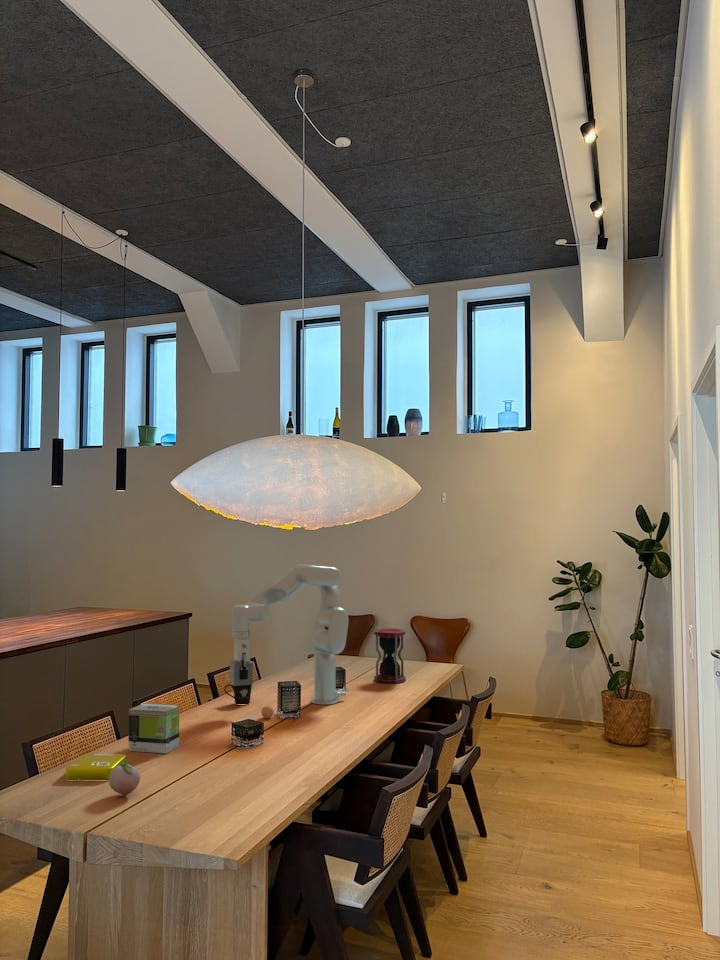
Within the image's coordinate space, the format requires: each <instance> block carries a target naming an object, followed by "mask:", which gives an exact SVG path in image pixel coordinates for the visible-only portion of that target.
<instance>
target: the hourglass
mask: <svg viewBox="0 0 720 960" xmlns="http://www.w3.org/2000/svg"><path fill="white" fill-rule="evenodd" d="M373 635H375V651H376V653H377V655H378V658H377V660H376V662H375V676H373V681H374V682H376V683H378V684H388V685H389V684H390V685H391V684H401V682H402V683H404V681H405V682H406V681H407V679H406V678H407V677H406V676H405V674H404V660H403V658H402V655H401V654H402V650H403V649H404V636H405V635H406V630H405V629H403V628H377V629H374V630H373ZM379 647H380V648H381V650H382V652H383V655H382V653H381V651H380V650H379ZM399 647H400V649H399ZM398 649H399V650H398ZM397 656H398V659H399V660H400V663H399V662H398V661H397ZM381 659H382V661H381ZM380 661H381V662H380Z"/></svg>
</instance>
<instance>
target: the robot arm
mask: <svg viewBox="0 0 720 960" xmlns="http://www.w3.org/2000/svg"><path fill="white" fill-rule="evenodd" d="M341 580H342V574H341V572H340V570H339V569H338V568H336V567H334V566H326V565H325V566H323V565H313V564H304V563H299V564H297V565H295V566H293V567H292V568H291V569H290V570H289V571H287V573H286V574H284V575H283V576H282V577H281V578H280V579H278V581H276V582H275V583H274V584H272V585H270V586H268V587H267V588H265V589H263V590H262V591H259V592H258V593H256V594H255V595H254V596H253V597H252V598H251V599H249V601H247V602H246V604H236V605H233V607H232V609H231V639H232V640H233V661H236V662H238V663H239V664H240V669H241V670H240V680H244V679H248V667H247V662H248V663H249V662H250V661H251V653H250V652H251V650H250V640H249V639H251V622H256V623H262V622H265V621H267V620H268V618H270V614H271V610H270V608H269V606H271V605H273V604H275V603H278V602H281V601H285V600H287V599H288V598H290V597H292V596H293V594H295V592H297V591H298V590H299V589H301V587H303V585H311V586H317V587H318V588H319V591H320V603H319V609H318V618H317V619H318V623H319V624H320V626H323V627H326V628H328V629H319V630H317V631H316V632H315V633H314V634H313V637H312V640H311V641H312V643H311V644H312V649H313V651H312V652H313V658H314V660H313V661H314V662H313V663H314V665H313V666H314V667H313V672H314V676H313V677H314V680H313V682H314V683H313V684H314V685H313V687H314V688H313V690H314V691H313V692H314V693H313V697H311V698H310V703H312V704H315V705H322V706H323V705H325V706H326V705H334V704H338V703H339V702H340V697H346V696H347V691H341V690H339V691H338V690H336V687H337V685H336V684H337V682H336V669H337V668H336V664H337V663H336V656H335V655H339V654H341V653H342V652H343V651H344V649H345V647H346V645H347V638H348V628H349V620H350V619H349V615H348V613H347V611H346V609H344V608H342V607H340V595H341V593H340V589H339V586H338V584H339V583H340V582H341ZM243 661H244V662H243ZM242 664H243V665H242Z"/></svg>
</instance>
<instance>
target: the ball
mask: <svg viewBox="0 0 720 960" xmlns="http://www.w3.org/2000/svg"><path fill="white" fill-rule="evenodd" d="M260 713H261V716H262V718H264V719H270V718H272V717H273V715H274V709H273V707H272V706H271V705H264V706H263V707H262V708H261V712H260Z"/></svg>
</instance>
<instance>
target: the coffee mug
mask: <svg viewBox="0 0 720 960" xmlns="http://www.w3.org/2000/svg"><path fill="white" fill-rule="evenodd" d="M252 686H253V684H250V685H240V686H233V685H232V684H231V683H230V684H227V685H224V687H223V689H224V693H226V695H228V696H229V697H231V698H233V699H234V704H235V703H236V704H248V703H251V696H252V695H251V694H252V689H253V688H252ZM227 687H231V688H232V689H233V695H232V694H230V693H229V692H227V689H226V688H227ZM236 704H235V705H236ZM248 705H249V704H248Z"/></svg>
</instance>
